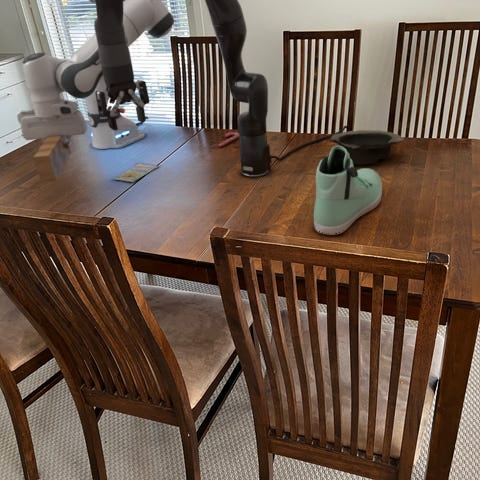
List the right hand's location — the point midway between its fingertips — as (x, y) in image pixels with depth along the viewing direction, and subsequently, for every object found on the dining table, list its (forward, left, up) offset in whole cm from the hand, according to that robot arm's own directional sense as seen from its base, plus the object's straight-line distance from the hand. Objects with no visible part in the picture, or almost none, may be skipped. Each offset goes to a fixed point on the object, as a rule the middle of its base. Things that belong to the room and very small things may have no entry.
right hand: (128, 125), depth 128 cm
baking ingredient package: (-11, -34, -28) cm, 46 cm away
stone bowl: (-81, +9, -28) cm, 86 cm away
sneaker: (-49, +34, -28) cm, 66 cm away
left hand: (+11, -40, -15) cm, 44 cm away
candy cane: (-53, -39, -28) cm, 71 cm away
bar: (+15, -32, -18) cm, 40 cm away
